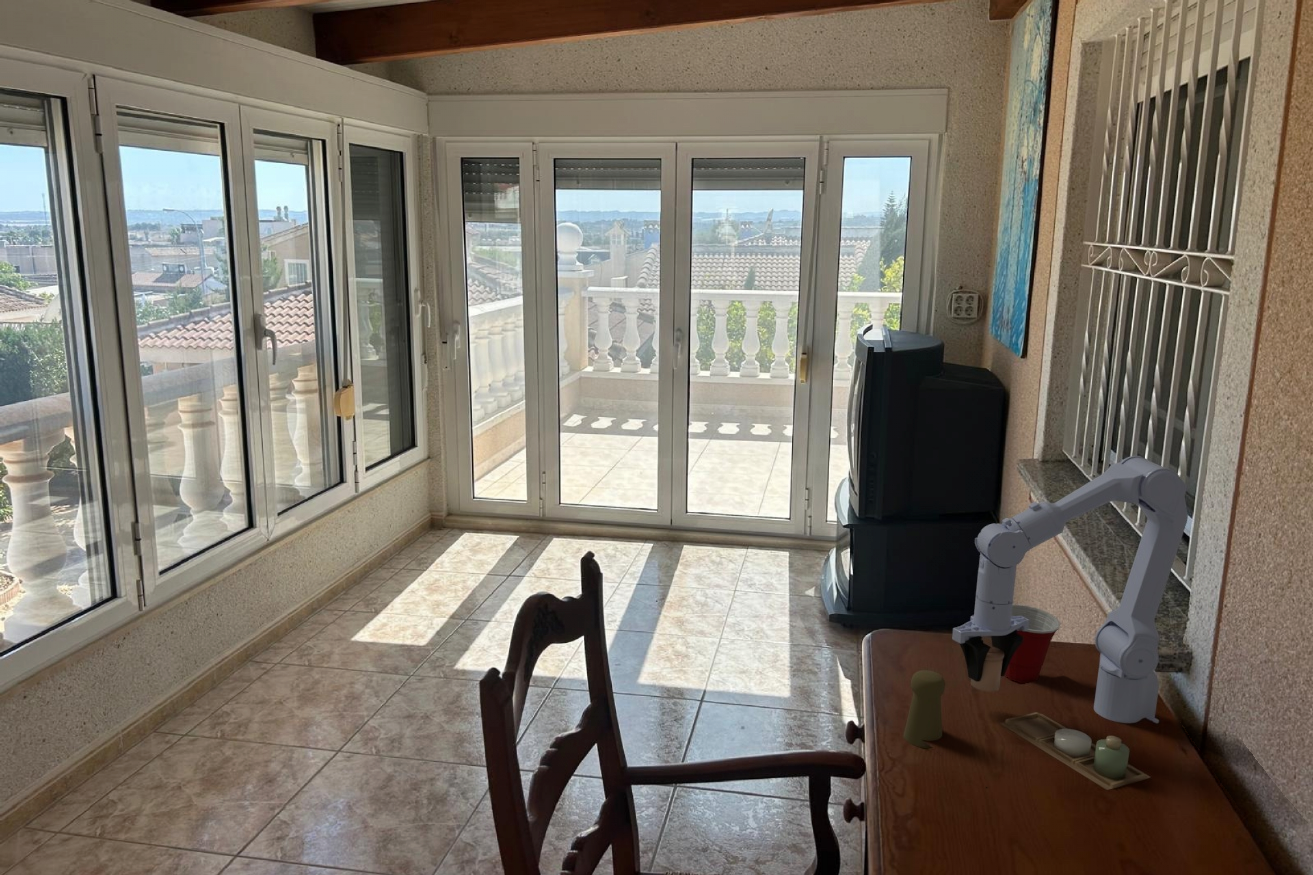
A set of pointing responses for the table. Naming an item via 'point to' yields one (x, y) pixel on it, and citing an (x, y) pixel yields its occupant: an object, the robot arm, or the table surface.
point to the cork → (925, 709)
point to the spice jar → (990, 671)
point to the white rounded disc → (1072, 742)
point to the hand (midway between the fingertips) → (986, 676)
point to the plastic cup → (1032, 643)
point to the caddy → (1043, 735)
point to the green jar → (1111, 758)
